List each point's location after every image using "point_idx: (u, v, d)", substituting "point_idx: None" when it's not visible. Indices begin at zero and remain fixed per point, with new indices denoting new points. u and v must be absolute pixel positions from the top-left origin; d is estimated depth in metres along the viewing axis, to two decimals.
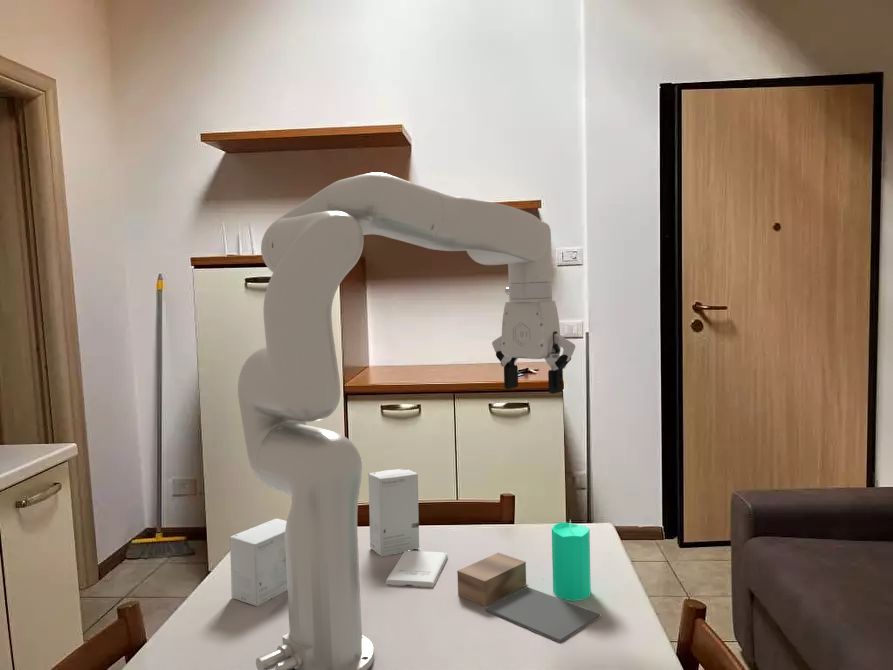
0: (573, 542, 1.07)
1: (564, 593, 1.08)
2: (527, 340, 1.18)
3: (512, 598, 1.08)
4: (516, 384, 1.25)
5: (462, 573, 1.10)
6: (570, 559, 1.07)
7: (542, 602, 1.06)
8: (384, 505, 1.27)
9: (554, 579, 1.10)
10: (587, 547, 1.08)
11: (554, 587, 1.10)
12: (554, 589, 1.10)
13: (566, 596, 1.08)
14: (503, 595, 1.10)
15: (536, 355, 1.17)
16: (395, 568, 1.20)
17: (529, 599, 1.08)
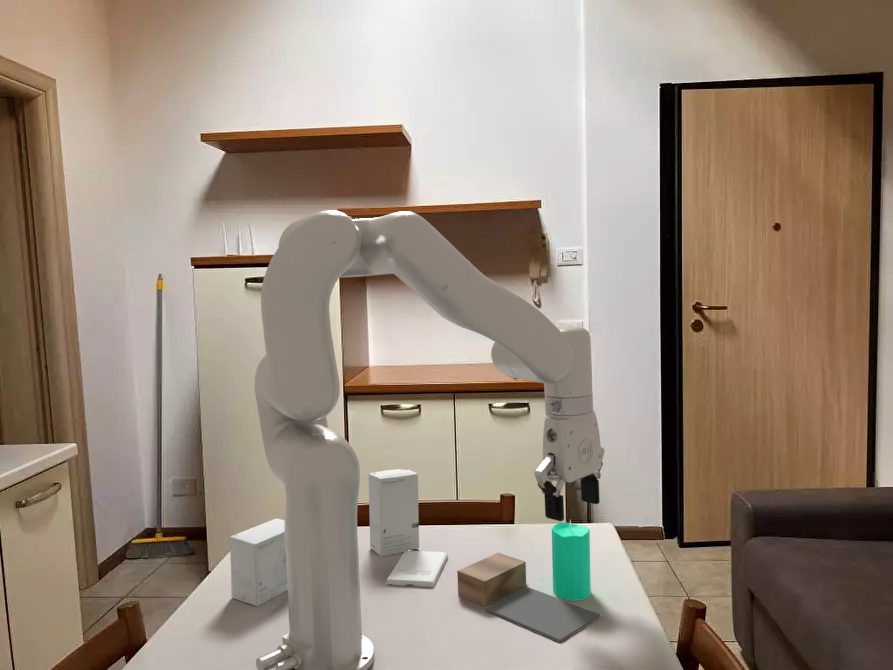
0: (573, 542, 1.07)
1: (564, 593, 1.08)
2: (590, 455, 1.08)
3: (512, 598, 1.08)
4: None
5: (462, 573, 1.10)
6: (570, 559, 1.07)
7: (542, 602, 1.06)
8: (384, 505, 1.27)
9: (554, 579, 1.10)
10: (587, 547, 1.08)
11: (554, 587, 1.10)
12: (554, 589, 1.10)
13: (566, 596, 1.08)
14: (503, 595, 1.10)
15: (597, 468, 1.10)
16: (395, 568, 1.20)
17: (529, 599, 1.08)
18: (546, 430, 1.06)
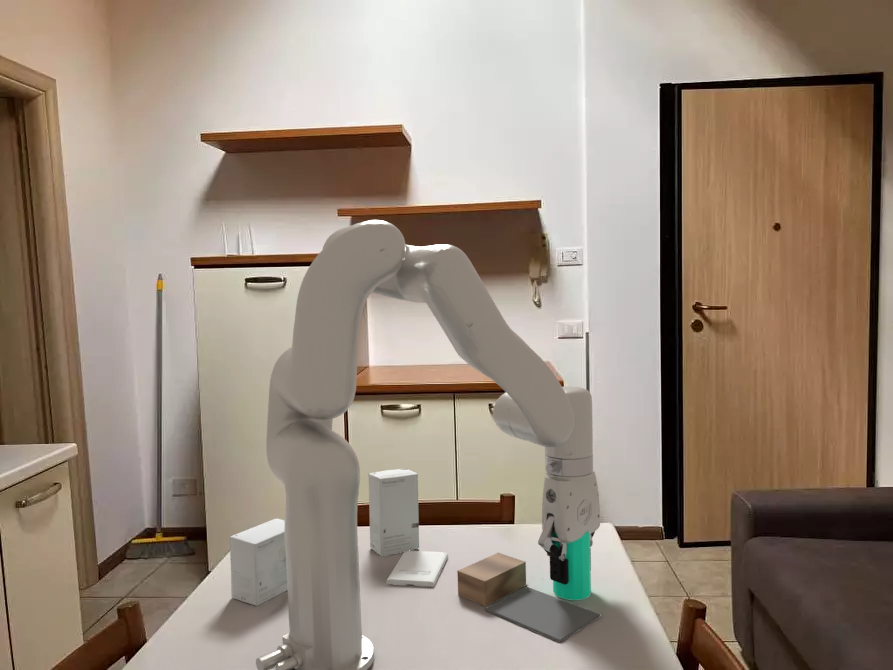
0: (574, 541, 1.07)
1: (565, 593, 1.08)
2: (588, 516, 1.08)
3: (512, 598, 1.08)
4: None
5: (462, 573, 1.10)
6: (570, 558, 1.07)
7: (542, 602, 1.06)
8: (384, 505, 1.27)
9: None
10: (587, 547, 1.08)
11: (555, 587, 1.10)
12: (554, 589, 1.10)
13: (566, 596, 1.08)
14: (503, 595, 1.10)
15: (595, 528, 1.10)
16: (396, 568, 1.20)
17: (529, 599, 1.08)
18: (546, 490, 1.07)
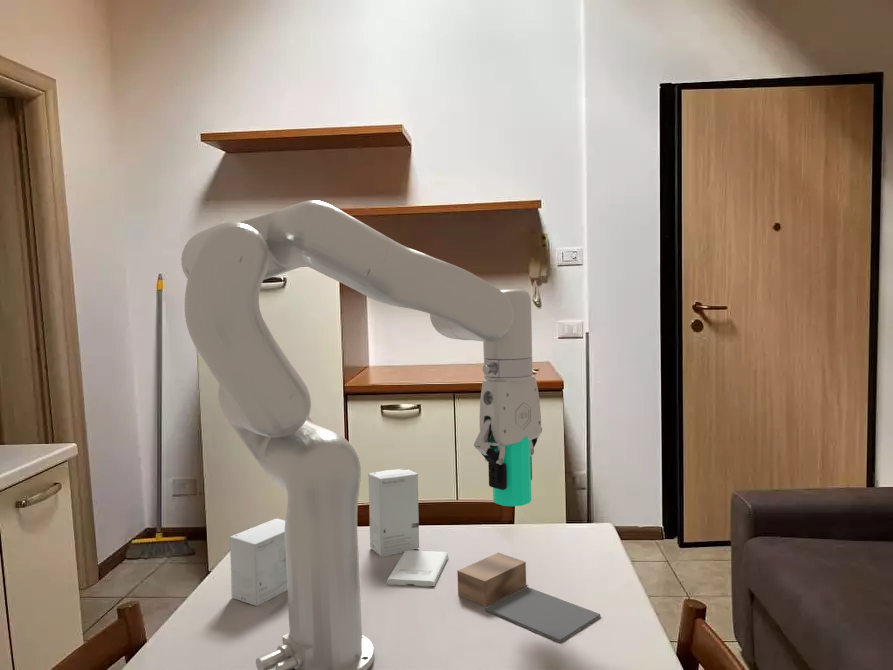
0: (512, 445, 1.04)
1: (503, 499, 1.05)
2: (528, 421, 1.06)
3: (512, 598, 1.08)
4: None
5: (462, 573, 1.10)
6: (509, 463, 1.05)
7: (542, 602, 1.06)
8: (384, 505, 1.27)
9: None
10: (527, 452, 1.06)
11: (494, 494, 1.07)
12: (494, 497, 1.08)
13: (505, 502, 1.05)
14: (503, 595, 1.10)
15: (535, 435, 1.07)
16: (396, 567, 1.20)
17: (529, 599, 1.08)
18: (483, 392, 1.04)
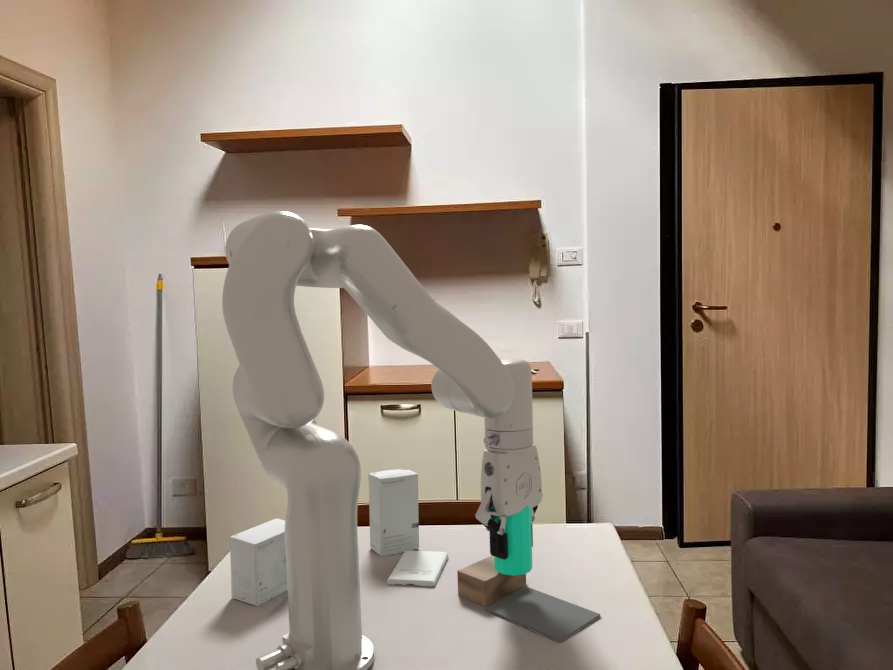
0: (513, 515, 1.05)
1: (504, 568, 1.06)
2: (528, 490, 1.07)
3: (512, 598, 1.08)
4: None
5: (462, 573, 1.10)
6: (510, 533, 1.05)
7: (542, 602, 1.06)
8: (384, 505, 1.27)
9: None
10: (528, 521, 1.06)
11: (495, 562, 1.08)
12: (495, 564, 1.08)
13: (506, 571, 1.06)
14: (503, 595, 1.10)
15: (536, 503, 1.08)
16: (396, 568, 1.20)
17: (529, 599, 1.08)
18: (484, 463, 1.05)
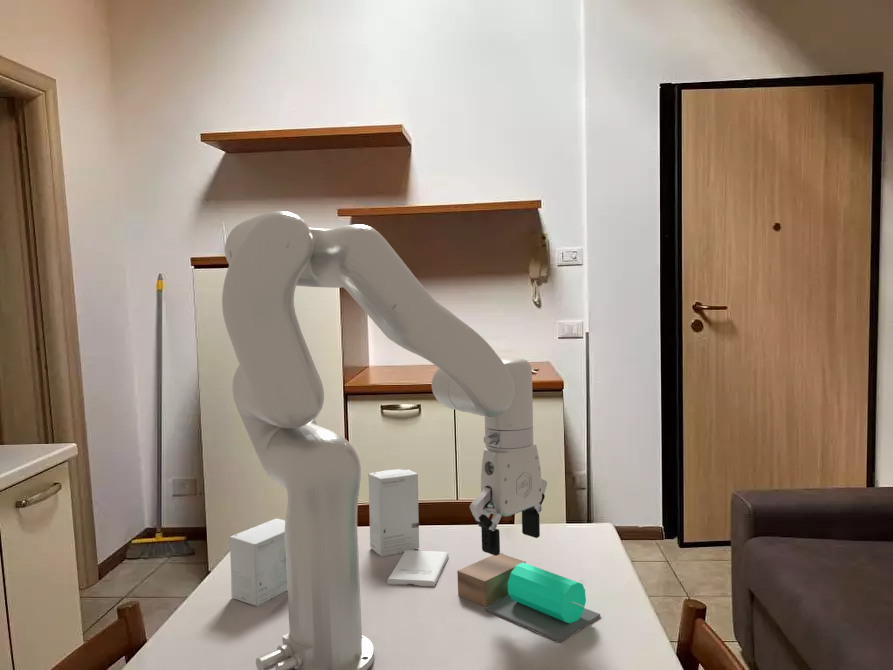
0: None
1: (513, 595, 1.05)
2: (529, 489, 1.07)
3: None
4: None
5: (462, 573, 1.10)
6: (544, 611, 1.01)
7: None
8: (384, 505, 1.27)
9: (521, 582, 1.04)
10: None
11: (514, 581, 1.05)
12: (512, 579, 1.05)
13: (511, 595, 1.05)
14: (503, 595, 1.10)
15: (536, 502, 1.08)
16: (396, 567, 1.20)
17: None
18: (484, 462, 1.05)
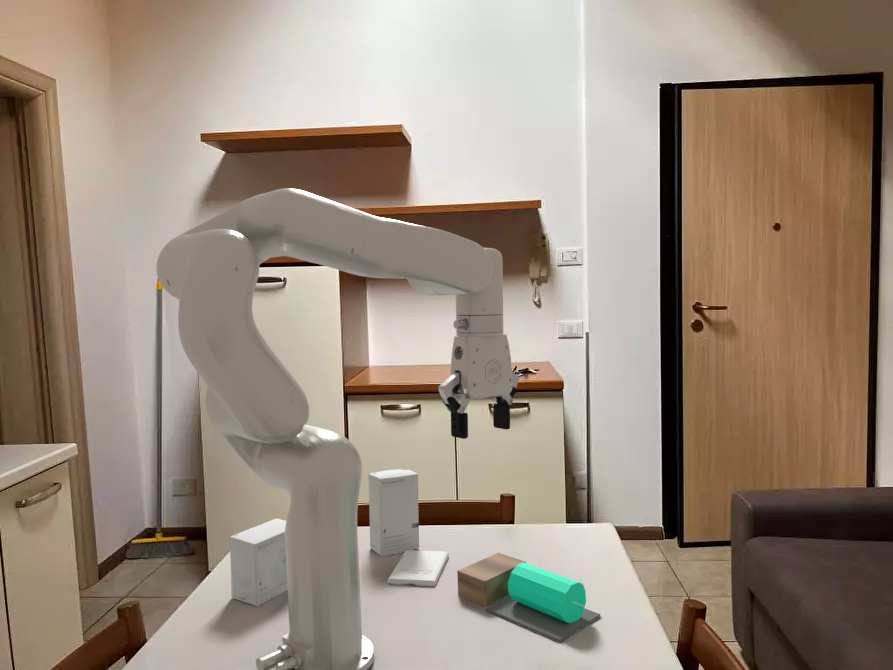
0: (561, 619, 0.99)
1: (513, 595, 1.05)
2: (498, 377, 1.08)
3: None
4: None
5: (462, 573, 1.10)
6: (544, 611, 1.01)
7: None
8: (384, 505, 1.27)
9: (521, 582, 1.04)
10: None
11: (514, 581, 1.05)
12: (513, 578, 1.05)
13: (511, 595, 1.05)
14: (503, 595, 1.10)
15: (506, 391, 1.10)
16: (397, 567, 1.20)
17: None
18: (454, 348, 1.07)
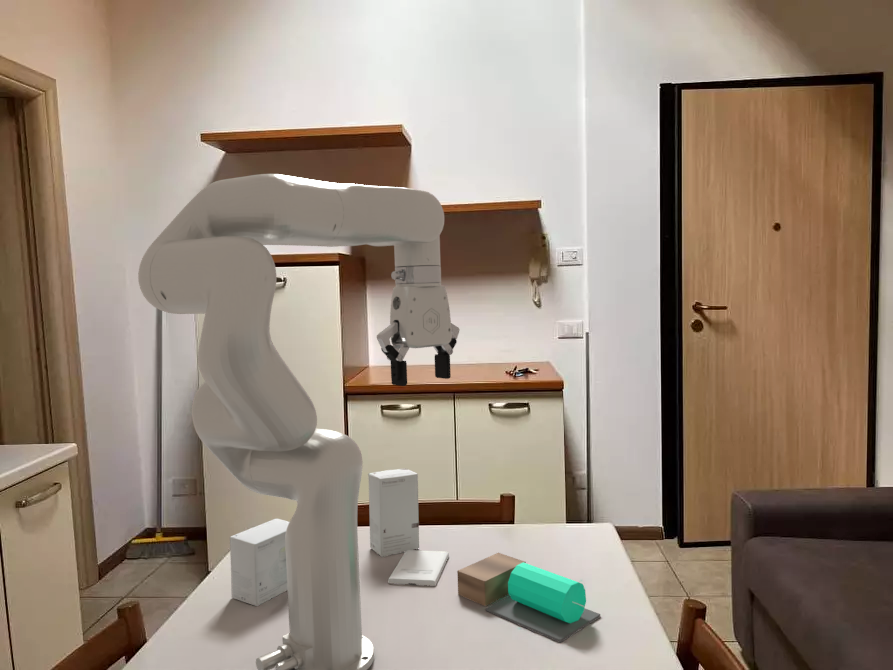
0: (561, 619, 0.99)
1: (513, 595, 1.05)
2: (436, 326, 1.12)
3: None
4: None
5: (462, 573, 1.10)
6: (544, 611, 1.01)
7: None
8: (384, 505, 1.27)
9: (521, 582, 1.04)
10: None
11: (514, 581, 1.05)
12: (513, 578, 1.05)
13: (511, 595, 1.05)
14: (503, 595, 1.10)
15: (445, 341, 1.13)
16: (397, 567, 1.20)
17: None
18: (393, 298, 1.10)
